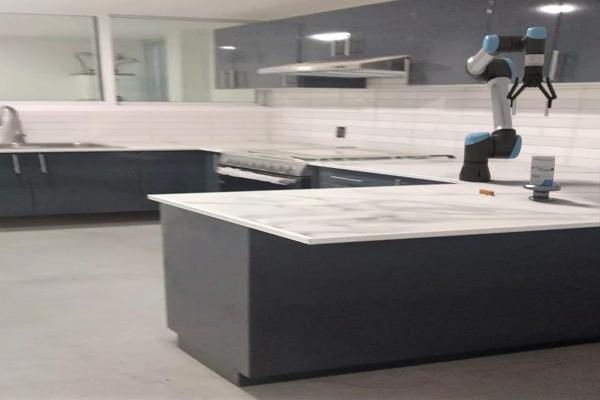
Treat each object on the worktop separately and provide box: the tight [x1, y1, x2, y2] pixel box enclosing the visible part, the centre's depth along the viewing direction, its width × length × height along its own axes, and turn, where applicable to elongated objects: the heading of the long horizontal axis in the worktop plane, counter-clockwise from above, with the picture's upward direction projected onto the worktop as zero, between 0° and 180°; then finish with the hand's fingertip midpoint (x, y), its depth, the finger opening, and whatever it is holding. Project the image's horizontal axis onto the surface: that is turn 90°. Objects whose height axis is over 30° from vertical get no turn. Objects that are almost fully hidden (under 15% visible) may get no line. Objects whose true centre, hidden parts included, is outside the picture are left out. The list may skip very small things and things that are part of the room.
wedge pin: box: [478, 188, 495, 196], centre depth 228 cm, size 6×2×2 cm, turn 27°
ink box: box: [529, 154, 556, 186], centre depth 215 cm, size 8×5×12 cm, turn 64°
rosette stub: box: [522, 179, 562, 202], centre depth 216 cm, size 14×14×7 cm
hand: (529, 115), depth 232 cm, fingers open, 13 cm apart
